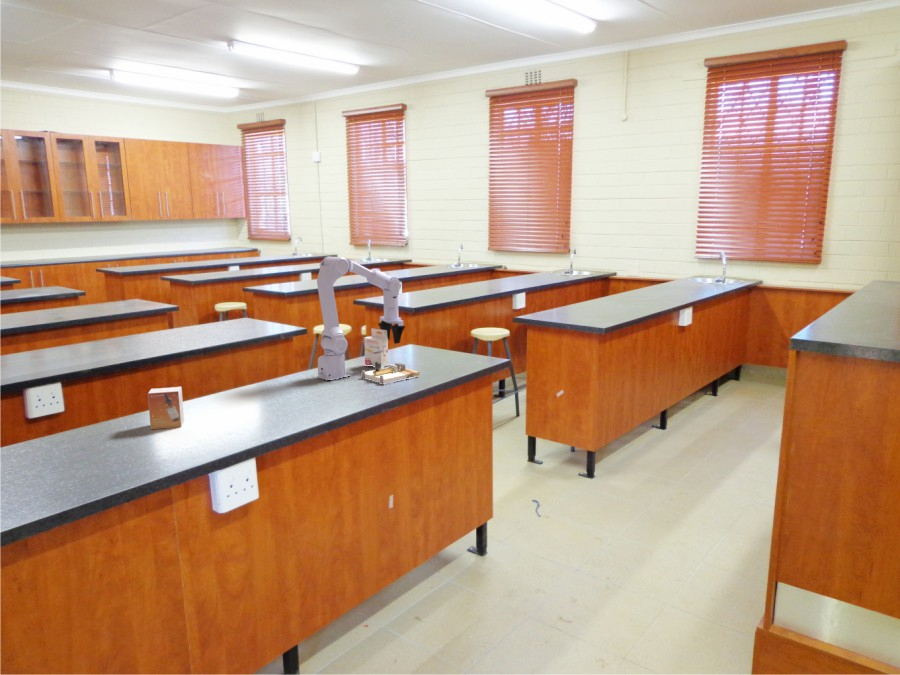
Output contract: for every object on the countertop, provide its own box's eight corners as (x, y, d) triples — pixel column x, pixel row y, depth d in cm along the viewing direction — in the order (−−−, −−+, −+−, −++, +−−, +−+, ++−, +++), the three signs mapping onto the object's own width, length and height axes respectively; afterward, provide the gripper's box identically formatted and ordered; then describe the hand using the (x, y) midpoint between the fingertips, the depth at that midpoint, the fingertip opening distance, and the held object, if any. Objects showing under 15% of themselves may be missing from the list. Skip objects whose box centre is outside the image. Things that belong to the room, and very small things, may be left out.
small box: (150, 430, 166) (146, 393, 164) (154, 423, 171) (150, 388, 169) (181, 427, 168) (178, 391, 166) (184, 421, 173) (181, 385, 171)
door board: (383, 385, 210) (382, 373, 209) (360, 378, 220) (359, 366, 220) (406, 379, 217) (406, 368, 217) (383, 373, 227) (383, 361, 227)
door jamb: (408, 379, 218) (407, 367, 217) (384, 373, 228) (384, 361, 227) (419, 377, 221) (419, 365, 221) (395, 370, 231) (395, 359, 231)
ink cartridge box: (364, 366, 239) (363, 329, 236) (372, 364, 243) (371, 328, 240) (381, 369, 234) (380, 331, 232) (389, 366, 239) (388, 329, 236)
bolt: (376, 375, 215) (376, 363, 214) (373, 374, 217) (372, 362, 216) (394, 371, 221) (393, 360, 220) (390, 370, 222) (390, 359, 221)
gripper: (409, 308, 231) (410, 343, 233) (390, 304, 242) (390, 337, 245) (394, 310, 227) (395, 345, 229) (374, 306, 238) (375, 339, 241)
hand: (391, 341), depth 237 cm, fingers open, 7 cm apart
